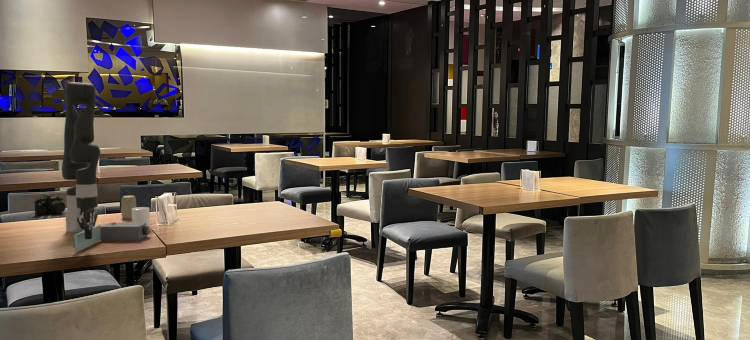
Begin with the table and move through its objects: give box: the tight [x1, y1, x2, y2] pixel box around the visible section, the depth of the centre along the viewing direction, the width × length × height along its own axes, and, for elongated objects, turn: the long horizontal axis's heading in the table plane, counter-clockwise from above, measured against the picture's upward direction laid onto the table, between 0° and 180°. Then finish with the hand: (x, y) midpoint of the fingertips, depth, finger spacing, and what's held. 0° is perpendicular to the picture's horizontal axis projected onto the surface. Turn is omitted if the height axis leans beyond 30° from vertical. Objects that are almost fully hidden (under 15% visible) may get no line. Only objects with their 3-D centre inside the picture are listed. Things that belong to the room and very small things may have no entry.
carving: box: [120, 195, 137, 220], centre depth 291 cm, size 6×8×12 cm
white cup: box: [131, 206, 151, 227], centre depth 265 cm, size 8×8×10 cm
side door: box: [72, 224, 101, 252], centre depth 229 cm, size 21×2×6 cm, turn 2°
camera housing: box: [100, 222, 150, 242], centre depth 245 cm, size 17×9×7 cm, turn 93°
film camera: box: [34, 193, 66, 216], centre depth 307 cm, size 18×12×10 cm
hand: (88, 239), depth 222 cm, fingers closed
